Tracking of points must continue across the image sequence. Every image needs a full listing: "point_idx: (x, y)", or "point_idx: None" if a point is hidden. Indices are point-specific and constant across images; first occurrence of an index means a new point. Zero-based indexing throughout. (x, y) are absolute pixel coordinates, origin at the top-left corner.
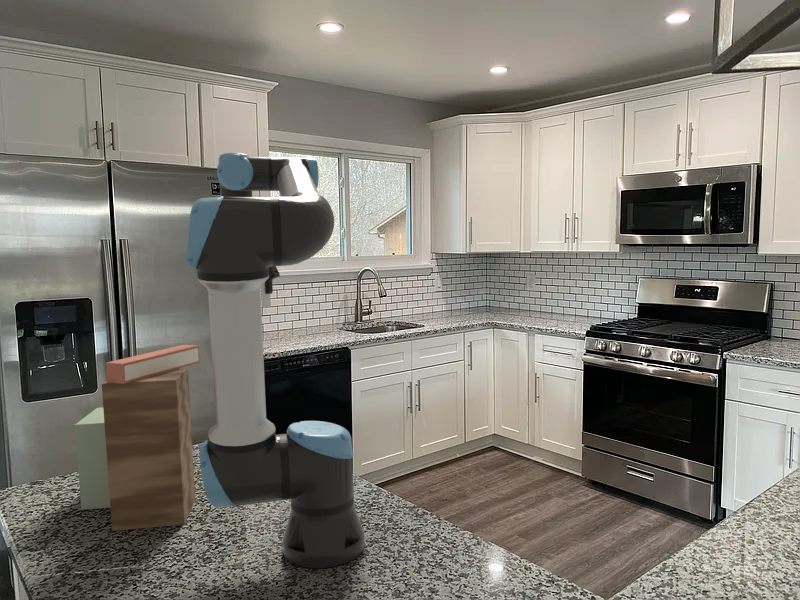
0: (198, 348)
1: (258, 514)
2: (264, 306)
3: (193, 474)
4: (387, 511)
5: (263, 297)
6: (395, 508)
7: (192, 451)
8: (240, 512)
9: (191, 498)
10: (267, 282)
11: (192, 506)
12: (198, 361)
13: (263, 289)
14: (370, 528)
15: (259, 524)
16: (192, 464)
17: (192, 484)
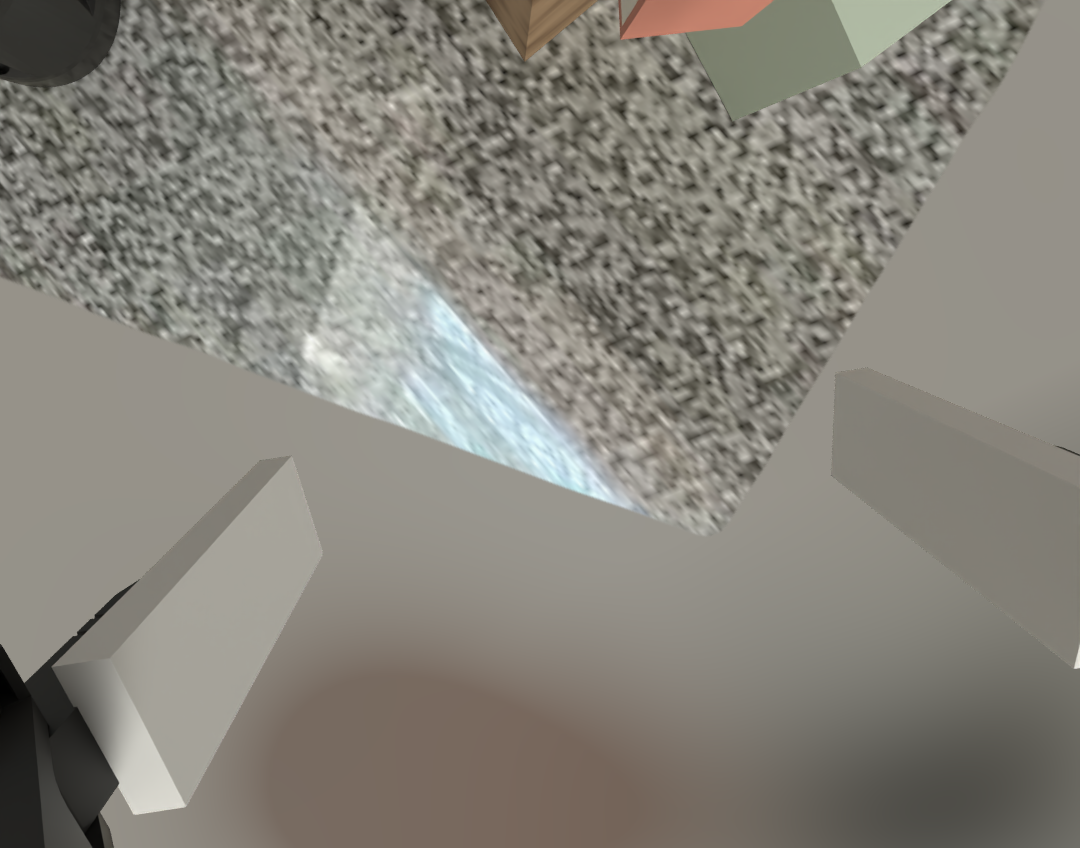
0: (639, 2)
1: (307, 67)
2: (253, 467)
3: (523, 34)
4: (41, 230)
5: (216, 514)
6: (38, 254)
7: (529, 15)
8: (359, 56)
9: (494, 6)
10: (46, 691)
11: (499, 21)
12: (622, 25)
13: (153, 574)
14: (4, 125)
15: (258, 15)
16: (520, 16)
17: (509, 19)
